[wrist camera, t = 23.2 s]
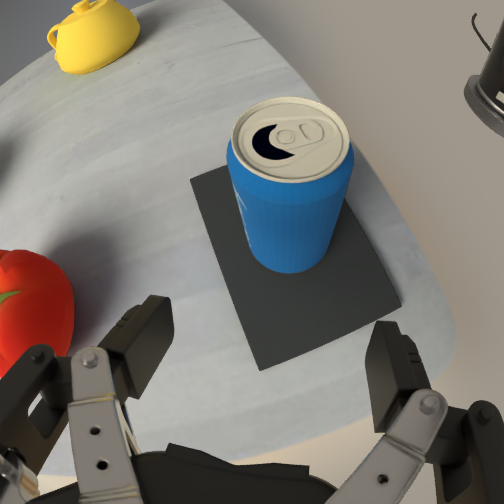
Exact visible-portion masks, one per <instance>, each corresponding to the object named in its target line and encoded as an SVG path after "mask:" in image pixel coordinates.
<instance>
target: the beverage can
mask: <svg viewBox="0 0 504 504" xmlns="http://www.w3.org/2000/svg"><path fill="white" fill-rule="evenodd" d="M226 158H227V165H228V169H229V172H230V176H231V180H232V184H233V188H234V191H235V195H236V199H237V203H238V206H239V210H240V214H241V218H242V221H243V225H244V229H245V233H246V236H247V240H248V244H249V247H250V249H251V252H252V253H253V255H254V257H255V258H256V259H257V260H258V261H259V262H260V263H261V264H262V265H264V266H265V267H267V268H269V269H271V270H273V271H276V272H281V273H298V272H302V271H305V270H307V269H309V268H311V267H313V266H314V265H316V264H317V263H318V262H319V261H320V260H321V259H322V258H323V256H324V255H325V253H326V251H327V249H328V246H329V243H330V240H331V237H332V234H333V231H334V228H335V225H336V222H337V219H338V216H339V212H340V209H341V206H342V203H343V200H344V196H345V193H346V190H347V186H348V183H349V180H350V176H351V173H352V169H353V165H354V153H353V148H352V145H351V142H350V138H349V133H348V129H347V127H346V125H345V123H344V122H343V120H342V119H341V118H340V117H339V116H338V115H337V114H336V113H335V112H334V111H333V110H331V109H330V108H328V107H327V106H325V105H323V104H321V103H319V102H316V101H313V100H310V99H306V98H300V97H278V98H272V99H268V100H265V101H262V102H260V103H257V104H255V105H253V106H252V107H250V108H249V109H247V110H246V111H245V112H244V113H242V114H241V116H240V117H239V118H238V119H237V121H236V122H235V124H234V126H233V129H232V133H231V139H230V141H229V144H228V148H227V157H226Z"/></svg>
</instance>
